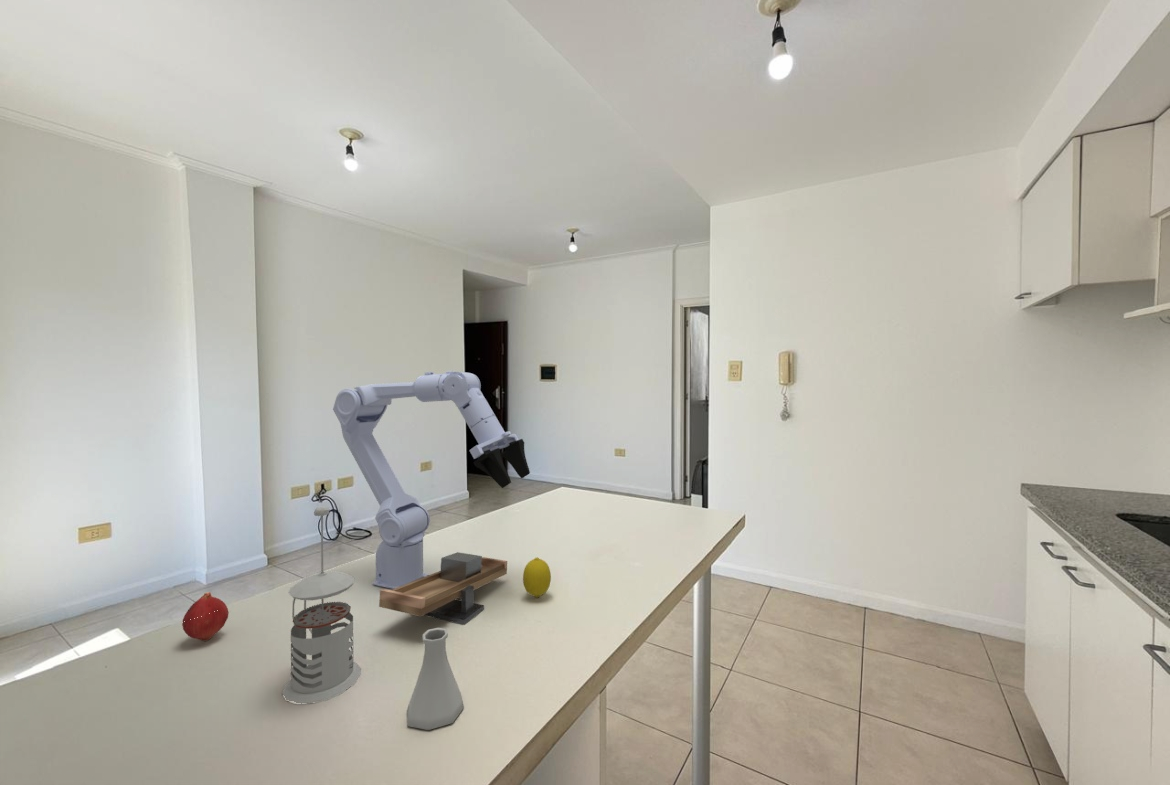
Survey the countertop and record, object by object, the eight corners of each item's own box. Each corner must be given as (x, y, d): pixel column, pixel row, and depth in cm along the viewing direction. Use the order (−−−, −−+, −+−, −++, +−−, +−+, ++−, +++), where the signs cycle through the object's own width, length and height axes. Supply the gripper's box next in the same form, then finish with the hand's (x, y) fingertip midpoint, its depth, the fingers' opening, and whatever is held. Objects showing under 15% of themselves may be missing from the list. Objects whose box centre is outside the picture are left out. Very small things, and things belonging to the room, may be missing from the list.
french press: (304, 714, 58) (303, 519, 57) (262, 684, 64) (260, 507, 64) (375, 673, 66) (374, 503, 66) (332, 649, 72) (330, 493, 72)
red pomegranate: (177, 654, 71) (177, 603, 71) (189, 636, 76) (188, 589, 76) (223, 644, 74) (223, 595, 74) (232, 627, 79) (231, 582, 79)
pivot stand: (403, 610, 85) (402, 584, 85) (425, 597, 90) (425, 572, 90) (464, 624, 80) (463, 596, 80) (484, 609, 85) (483, 583, 85)
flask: (414, 694, 61) (414, 621, 61) (468, 690, 62) (468, 618, 62) (397, 734, 54) (396, 651, 54) (458, 730, 55) (458, 648, 55)
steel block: (440, 578, 89) (441, 557, 89) (456, 572, 93) (457, 552, 94) (465, 583, 86) (466, 562, 87) (480, 576, 91) (481, 556, 91)
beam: (377, 610, 77) (379, 590, 77) (471, 570, 100) (472, 555, 101) (421, 620, 73) (422, 599, 73) (507, 576, 97) (508, 561, 97)
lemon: (546, 605, 87) (546, 563, 87) (519, 602, 88) (518, 561, 88) (554, 592, 92) (553, 553, 92) (528, 590, 93) (528, 551, 93)
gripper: (475, 417, 84) (512, 480, 82) (515, 409, 98) (547, 462, 96) (450, 436, 87) (485, 497, 85) (492, 425, 100) (523, 478, 98)
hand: (516, 480), depth 90 cm, fingers open, 7 cm apart
